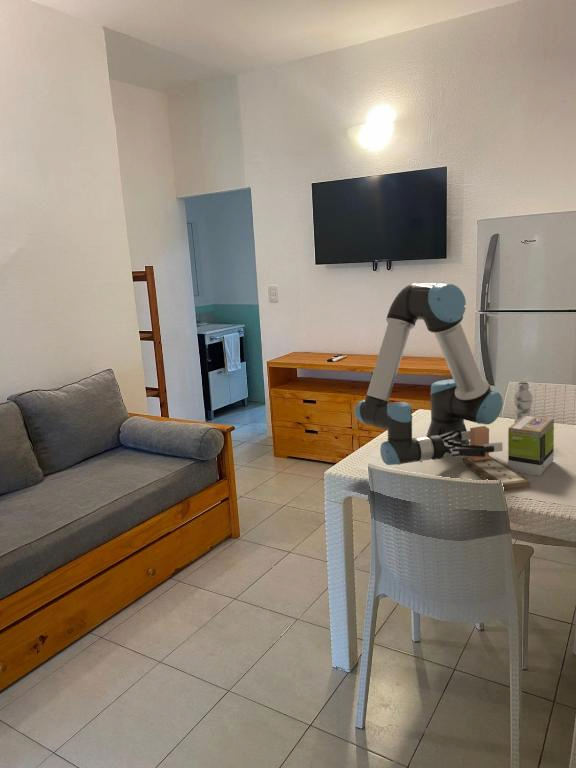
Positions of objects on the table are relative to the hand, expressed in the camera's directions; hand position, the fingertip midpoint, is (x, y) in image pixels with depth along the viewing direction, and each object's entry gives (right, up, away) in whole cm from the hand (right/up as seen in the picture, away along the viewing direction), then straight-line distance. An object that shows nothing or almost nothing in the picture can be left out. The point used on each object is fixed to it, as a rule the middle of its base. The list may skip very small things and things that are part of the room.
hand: (490, 439), depth 187 cm
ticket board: (-1, -10, -6) cm, 12 cm away
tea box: (+13, -9, -1) cm, 15 cm away
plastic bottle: (+22, -1, +27) cm, 35 cm away
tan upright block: (-3, -6, +2) cm, 7 cm away
